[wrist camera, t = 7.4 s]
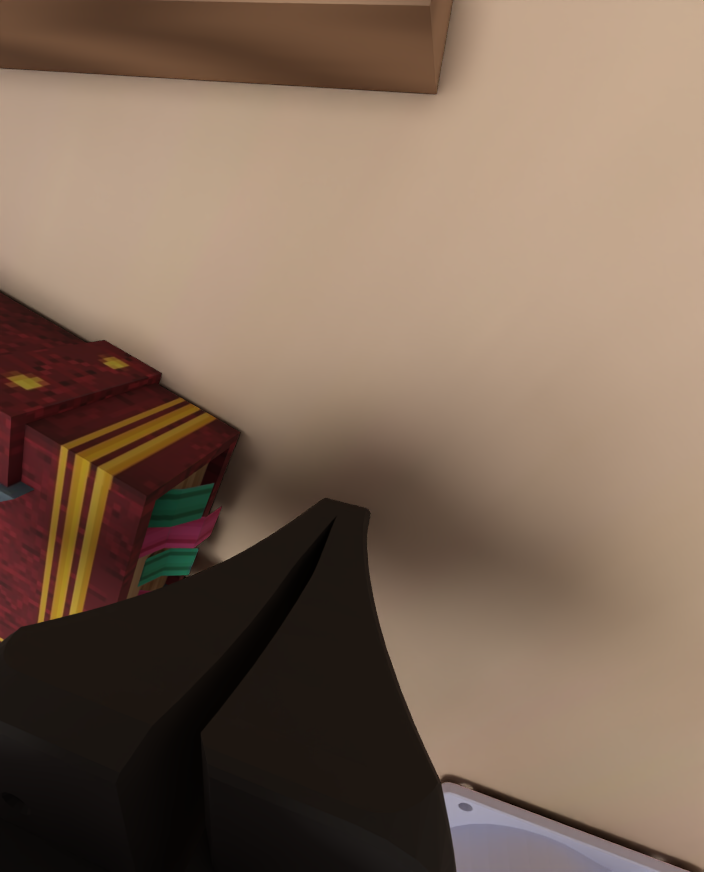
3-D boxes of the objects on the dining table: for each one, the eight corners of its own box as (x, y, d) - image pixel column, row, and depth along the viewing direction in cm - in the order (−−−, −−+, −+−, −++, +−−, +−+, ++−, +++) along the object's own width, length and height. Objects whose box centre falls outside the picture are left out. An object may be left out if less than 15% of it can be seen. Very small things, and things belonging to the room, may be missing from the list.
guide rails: (454, -12, 7) (457, -166, 4) (322, 734, 16) (301, 809, 14) (-332, -21, 10) (-549, -107, 8) (-72, 587, 20) (-140, 626, 17)
